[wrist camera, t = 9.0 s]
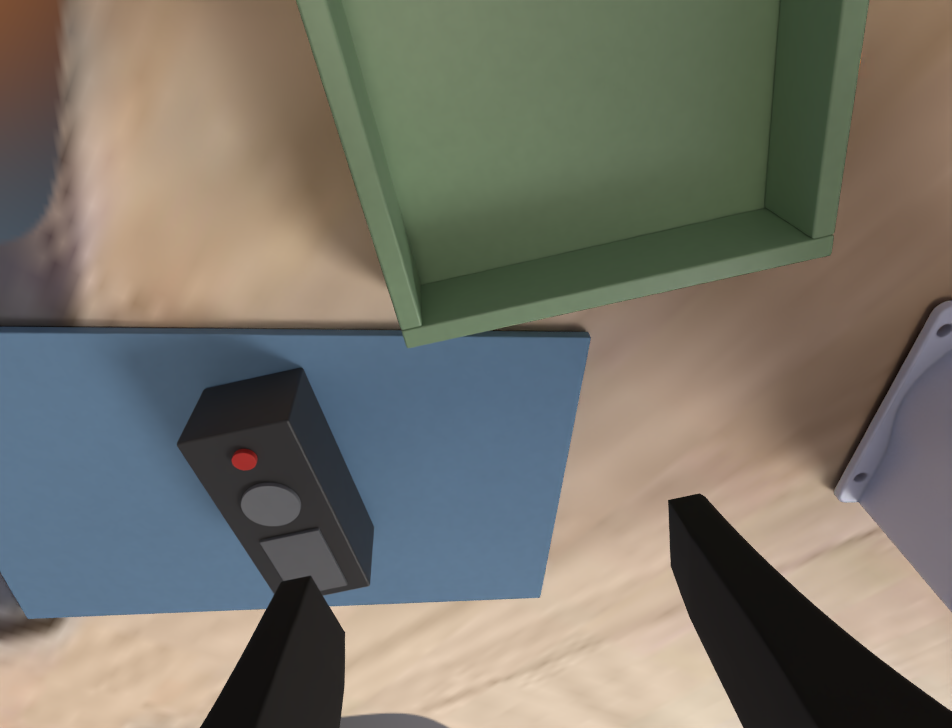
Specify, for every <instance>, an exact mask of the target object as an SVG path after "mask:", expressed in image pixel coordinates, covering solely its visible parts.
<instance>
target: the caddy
mask: <svg viewBox="0 0 952 728" xmlns="http://www.w3.org/2000/svg"><path fill="white" fill-rule="evenodd" d="M296 2H297V5H298V9H299V12H300V15H301V18H302V21H303V24H304V27H305V31H306V34H307V37H308V40H309V43H310V46H311V49H312V52H313V56H314V59H315V62H316V65H317V68H318V71H319V74H320V78H321V81H322V84H323V87H324V90H325V93H326V96H327V100H328V103H329V106H330V109H331V112H332V115H333V118H334V121H335V125H336V128H337V131H338V134H339V137H340V140H341V143H342V147H343V150H344V153H345V156H346V159H347V162H348V165H349V169H350V172H351V175H352V178H353V181H354V184H355V187H356V190H357V194H358V197H359V200H360V203H361V206H362V209H363V212H364V216H365V219H366V222H367V225H368V228H369V231H370V234H371V237H372V241H373V244H374V247H375V250H376V253H377V256H378V259H379V263H380V266H381V269H382V272H383V275H384V278H385V281H386V285H387V288H388V291H389V294H390V297H391V300H392V303H393V306H394V310H395V313H396V316H397V319H398V322H399V325H400V328H401V329H402V335H403V338H404V341H405V344H406V347H407V348H413V347H418V346H422V345H427V344H431V343H436V342H440V341H445V340H449V339H454V338H458V337H463V336H468V335H472V334H477V333H481V332H486V331H490V330H495V329H499V328H504V327H508V326H513V325H517V324H522V323H526V322H531V321H535V320H540V319H545V318H549V317H554V316H558V315H563V314H567V313H572V312H576V311H581V310H585V309H590V308H594V307H599V306H603V305H608V304H612V303H617V302H622V301H626V300H631V299H635V298H640V297H644V296H649V295H653V294H658V293H662V292H667V291H671V290H676V289H680V288H685V287H690V286H694V285H699V284H703V283H708V282H712V281H717V280H721V279H726V278H730V277H735V276H739V275H744V274H748V273H753V272H757V271H762V270H767V269H771V268H776V267H780V266H785V265H789V264H794V263H798V262H803V261H807V260H812V259H816V258H821V257H825V256H830V255H831V253H832V246H833V240H834V236H833V235H832V234H834V232H835V225H836V218H837V212H838V205H839V198H840V192H841V185H842V178H843V172H844V165H845V158H846V152H847V145H848V138H849V132H850V125H851V119H852V112H853V105H854V99H855V92H856V85H857V79H858V72H859V65H860V59H861V52H862V45H863V39H864V32H865V25H866V19H867V12H868V5H869V0H296Z"/></svg>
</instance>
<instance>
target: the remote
mask: <svg viewBox="0 0 952 728" xmlns="http://www.w3.org/2000/svg"><path fill="white" fill-rule="evenodd" d="M177 447H178V448H179V450H180V451H181V453H182V454H183V456H184V457H185V459H186V461H187V462H188V464H189V465H190V467H191V468H192V470H193V471H194V473H195V474H196V476H197V477H198V479H199V480H200V482H201V483H202V485H203V486H204V488H205V490H206V491H207V493H208V494H209V496H210V497H211V499H212V500H213V502H214V503H215V505H216V506H217V508H218V509H219V511H220V512H221V514H222V516H223V517H224V519H225V520H226V522H227V523H228V525H229V526H230V528H231V529H232V531H233V532H234V534H235V535H236V537H237V538H238V540H239V541H240V543H241V545H242V546H243V548H244V549H245V551H246V552H247V554H248V555H249V557H250V558H251V560H252V561H253V563H254V564H255V566H256V567H257V569H258V571H259V572H260V574H261V575H262V577H263V578H264V580H265V581H266V583H267V584H268V586H269V587H270V589H271V590H272V592H273V593H274V594H275V592H276V590H277V588H278V586H279V585H280V583H281V582H282V581H287V580H291V579H296V578H301V577H306V576H310V575H311V577H312V578H313V580H314V582H315V583H316V585H317V587H318V588H319V590H320V592H321V593H322V595H323V596H324V595H329V594H334V593H339V592H344V591H348V590H353V589H358V588H363V587H368V586H370V580H371V566H372V551H373V537H374V525H373V523H372V521H371V519H370V517H369V514H368V512H367V510H366V508H365V505H364V503H363V501H362V499H361V496H360V494H359V492H358V490H357V487H356V485H355V483H354V481H353V479H352V476H351V474H350V472H349V470H348V467H347V465H346V463H345V461H344V458H343V456H342V454H341V452H340V449H339V447H338V445H337V443H336V441H335V438H334V436H333V434H332V432H331V429H330V427H329V425H328V423H327V420H326V418H325V416H324V414H323V411H322V409H321V407H320V405H319V403H318V400H317V398H316V396H315V394H314V391H313V389H312V387H311V385H310V382H309V380H308V378H307V376H306V373H305V371H304V369H303V368H296V369H292V370H287V371H283V372H278V373H274V374H269V375H265V376H260V377H256V378H251V379H247V380H242V381H238V382H233V383H229V384H224V385H219V386H215V387H210V388H206V389H204V390H203V392H202V394H201V396H200V398H199V400H198V402H197V404H196V406H195V408H194V410H193V412H192V414H191V416H190V418H189V420H188V422H187V424H186V426H185V428H184V430H183V432H182V434H181V436H180V438H179V440H178V442H177Z"/></svg>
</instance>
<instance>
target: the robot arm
mask: <svg viewBox="0 0 952 728" xmlns="http://www.w3.org/2000/svg"><path fill="white" fill-rule="evenodd" d="M940 327H941V328H940ZM939 328H940V329H939ZM834 495H835V496H836V497H837V499H838V500H839V501H841V502H859V503H860V504H861V506H862V507H863V508H864V509H865V510H866V512H867V513H868V514H869V515H870V516H871V517H872V519H873V520H874V521H875V522H876V523H877V525H878V526H879V527H880V528H881V529H882V530H883V532H884V533H885V534H886V535H887V536H888V538H889V539H890V540H891V541H892V542H893V543H894V545H895V546H896V547H897V548H898V549H899V551H900V552H901V553H902V554H903V555H904V556H905V558H906V559H907V560H908V561H909V562H910V564H911V565H912V566H913V567H914V568H915V570H916V571H917V572H918V573H919V574H920V575H921V577H922V578H923V579H924V580H925V581H926V583H927V584H928V585H929V586H930V587H931V588H932V590H933V591H934V592H935V593H936V594H937V596H938V597H939V598H940V599H941V600H942V601H943V603H944V604H945V605H946V606H947V607H948V609H949V610H950V611H951V612H952V300H951V301H945V302H943V303H941V304H939V305H938V306H936V307H935V308H934V309H933V311H932V312H931V314H930V316H929V318H928V319H927V321H926V323H925V325H924V327H923V329H922V330H921V332H920V334H919V336H918V338H917V339H916V341H915V343H914V345H913V347H912V349H911V350H910V352H909V354H908V356H907V358H906V360H905V361H904V363H903V365H902V367H901V369H900V371H899V372H898V374H897V376H896V378H895V380H894V382H893V383H892V385H891V387H890V389H889V391H888V392H887V394H886V396H885V398H884V400H883V402H882V403H881V405H880V407H879V409H878V411H877V413H876V414H875V416H874V418H873V420H872V422H871V424H870V425H869V427H868V429H867V431H866V433H865V435H864V436H863V438H862V440H861V442H860V444H859V446H858V447H857V449H856V451H855V453H854V455H853V456H852V458H851V460H850V462H849V464H848V466H847V467H846V469H845V471H844V473H843V475H842V477H841V478H840V480H839V482H838V484H837V486H836V488H835V490H834ZM668 505H669V531H670V557H671V568H672V570H673V573H674V576H675V579H676V582H677V584H678V587H679V590H680V593H681V595H682V598H683V601H684V603H685V606H686V609H687V611H688V614H689V617H690V619H691V621H692V623H693V625H694V627H695V629H696V631H697V634H698V636H699V638H700V640H701V642H702V644H703V646H704V648H705V650H706V652H707V654H708V656H709V658H710V660H711V662H712V664H713V666H714V669H715V671H716V673H717V675H718V677H719V679H720V681H721V683H722V685H723V687H724V689H725V691H726V693H727V695H728V697H729V699H730V701H731V703H732V705H733V707H734V709H735V711H736V713H737V715H738V718H739V720H740V722H741V724H742V726H743V728H952V711H950V710H949V709H947V708H946V707H945V706H943V705H942V704H940V703H939V702H937V701H936V700H935V699H933V698H932V697H931V696H929V695H928V694H926V693H925V692H924V691H922V690H921V689H920V688H918V687H917V686H915V685H914V684H913V683H911V682H910V681H909V680H907V679H906V678H904V677H903V676H902V675H900V674H899V673H898V672H896V671H895V670H894V669H893V668H891V667H890V666H889V665H887V664H886V663H885V662H883V661H882V660H881V659H879V658H878V657H877V656H875V655H874V654H873V653H872V652H870V651H869V650H868V649H867V648H865V647H864V646H863V645H862V644H860V643H859V642H858V641H857V640H855V639H854V638H853V637H852V636H850V635H849V634H848V633H847V632H846V631H844V630H843V629H842V628H841V627H840V626H838V625H837V624H836V623H835V622H834V621H833V620H831V619H830V618H829V617H828V616H827V615H825V614H824V613H823V612H822V611H821V610H820V609H818V608H817V607H816V606H815V605H814V604H813V603H812V602H810V601H809V600H808V599H807V598H806V597H805V596H804V595H803V594H801V593H800V592H799V591H798V590H797V589H796V588H795V587H794V586H793V585H792V584H791V583H790V582H788V581H787V580H786V579H785V578H784V577H783V576H782V575H781V574H780V573H779V572H778V571H777V570H776V569H774V568H773V567H772V566H771V565H770V564H769V563H768V562H767V561H766V560H765V559H764V558H763V557H762V556H761V555H760V554H759V553H758V552H757V551H756V550H755V549H754V548H753V547H752V546H751V545H750V544H749V543H748V542H747V541H746V540H745V539H744V538H743V537H742V536H741V535H740V534H739V533H738V532H737V531H736V530H735V529H734V528H733V527H732V526H731V525H730V524H729V523H728V521H727V520H726V519H725V518H724V517H723V516H722V515H721V514H720V513H719V512H718V511H717V510H716V508H715V507H714V506H713V505H712V504H711V503H710V502H709V501H708V499H707V498H706V497H705V496H703V495H701V494H695V495H690V496H686V497H681V498H676V499H671V500H668ZM344 678H345V632H344V630H343V629H342V627H341V625H340V624H339V622H338V620H337V619H336V617H335V615H334V614H333V612H332V610H331V609H330V607H329V605H328V604H327V602H326V600H325V598H324V597H323V595H322V593H321V592H320V590H319V588H318V587H317V585H316V583H315V582H314V580H313V578H312V577H311V575H310V576H306V577H301V578H296V579H291V580H287V581H282V582H281V583H280V585H279V586H278V588H277V590H276V592H275V594H274V595H273V597H272V599H271V601H270V603H269V605H268V607H267V609H266V611H265V613H264V614H263V616H262V618H261V620H260V622H259V624H258V626H257V628H256V630H255V632H254V633H253V635H252V637H251V639H250V641H249V643H248V645H247V647H246V648H245V650H244V652H243V654H242V656H241V658H240V660H239V661H238V663H237V665H236V667H235V668H234V670H233V672H232V674H231V676H230V677H229V679H228V681H227V683H226V684H225V686H224V688H223V690H222V692H221V693H220V695H219V697H218V699H217V700H216V702H215V704H214V706H213V707H212V709H211V711H210V712H209V714H208V715H207V717H206V719H205V720H204V722H203V724H202V725H201V727H200V728H339V727H340V719H341V711H342V702H343V694H344Z"/></svg>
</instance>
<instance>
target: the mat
mask: <svg viewBox="0 0 952 728" xmlns="http://www.w3.org/2000/svg"><path fill="white" fill-rule="evenodd" d="M590 339H591V337H590V335H589V333H588V332H544V331H486V332H481V333H477V334H472V335H468V336H463V337H458V338H454V339H449V340H445V341H440V342H436V343H431V344H427V345H422V346H418V347H413V348H407V347H406V344H405V341H404V338H403V335H402V330H320V329H208V328H95V327H0V572H1V574H2V576H3V577H4V579H5V581H6V583H7V584H8V586H9V588H10V589H11V591H12V593H13V594H14V596H15V598H16V600H17V601H18V603H19V605H20V606H21V608H22V610H23V611H24V613H25V615H26V617H27V618H28V619H33V618H57V617H81V616H106V615H130V614H154V613H178V612H203V611H227V610H251V609H267V607H268V605H269V603H270V601H271V599H272V597H273V595H274V593H273V592H272V590H271V589H270V587H269V586H268V584H267V583H266V581H265V580H264V578H263V577H262V575H261V574H260V572H259V571H258V569H257V567H256V566H255V564H254V563H253V561H252V560H251V558H250V557H249V555H248V554H247V552H246V551H245V549H244V548H243V546H242V545H241V543H240V541H239V540H238V538H237V537H236V535H235V534H234V532H233V531H232V529H231V528H230V526H229V525H228V523H227V522H226V520H225V519H224V517H223V516H222V514H221V512H220V511H219V509H218V508H217V506H216V505H215V503H214V502H213V500H212V499H211V497H210V496H209V494H208V493H207V491H206V490H205V488H204V486H203V485H202V483H201V482H200V480H199V479H198V477H197V476H196V474H195V473H194V471H193V470H192V468H191V467H190V465H189V464H188V462H187V461H186V459H185V457H184V456H183V454H182V453H181V451H180V450H179V448H178V447H177V442H178V440H179V438H180V436H181V434H182V432H183V430H184V428H185V426H186V424H187V422H188V420H189V418H190V416H191V414H192V412H193V410H194V408H195V406H196V404H197V402H198V400H199V398H200V396H201V394H202V392H203V390H204V389H206V388H210V387H215V386H219V385H224V384H229V383H233V382H238V381H242V380H247V379H251V378H256V377H260V376H265V375H269V374H274V373H278V372H283V371H287V370H292V369H296V368H303V369H304V371H305V373H306V376H307V378H308V380H309V382H310V385H311V387H312V389H313V391H314V394H315V396H316V398H317V400H318V403H319V405H320V407H321V409H322V411H323V414H324V416H325V418H326V420H327V423H328V425H329V427H330V429H331V432H332V434H333V436H334V438H335V441H336V443H337V445H338V447H339V449H340V452H341V454H342V456H343V458H344V461H345V463H346V465H347V467H348V470H349V472H350V474H351V476H352V479H353V481H354V483H355V485H356V487H357V490H358V492H359V494H360V496H361V499H362V501H363V503H364V505H365V508H366V510H367V512H368V514H369V517H370V519H371V521H372V523H373V525H374V537H373V551H372V566H371V580H370V586H368V587H363V588H358V589H353V590H348V591H344V592H339V593H334V594H329V595H324V596H323V597H324V598H325V600H326V602H327V604H328V605H329V606H349V605H373V604H397V603H421V602H446V601H470V600H494V599H519V598H540V595H541V590H542V584H543V579H544V574H545V569H546V564H547V559H548V554H549V549H550V544H551V538H552V533H553V528H554V523H555V518H556V513H557V508H558V503H559V498H560V492H561V487H562V482H563V477H564V472H565V467H566V462H567V457H568V452H569V446H570V441H571V436H572V431H573V426H574V421H575V416H576V411H577V406H578V401H579V395H580V390H581V385H582V380H583V375H584V370H585V365H586V360H587V355H588V349H589V344H590Z"/></svg>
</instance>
